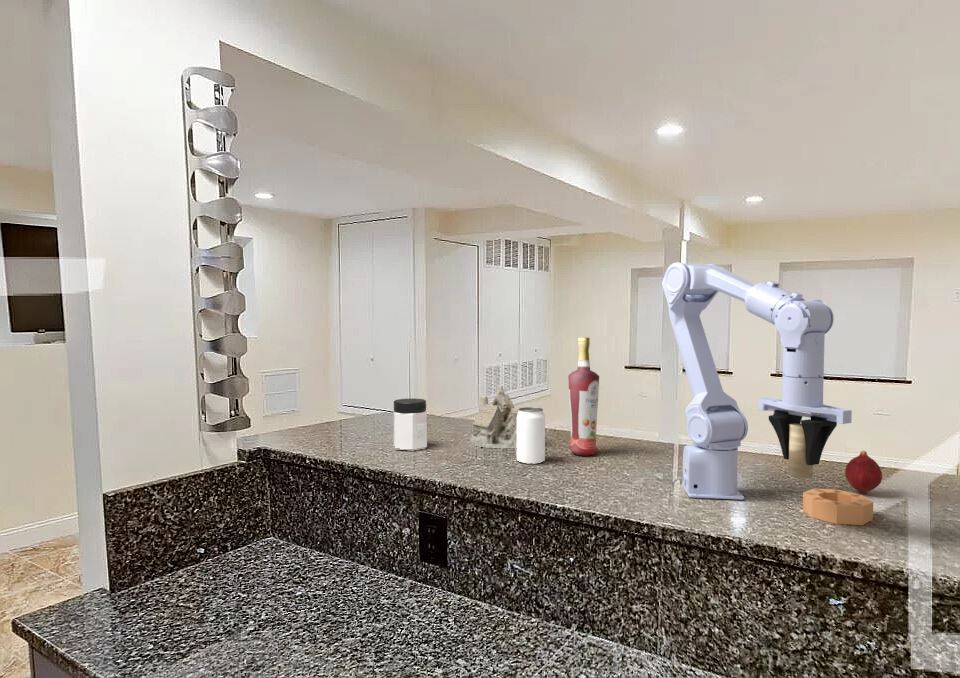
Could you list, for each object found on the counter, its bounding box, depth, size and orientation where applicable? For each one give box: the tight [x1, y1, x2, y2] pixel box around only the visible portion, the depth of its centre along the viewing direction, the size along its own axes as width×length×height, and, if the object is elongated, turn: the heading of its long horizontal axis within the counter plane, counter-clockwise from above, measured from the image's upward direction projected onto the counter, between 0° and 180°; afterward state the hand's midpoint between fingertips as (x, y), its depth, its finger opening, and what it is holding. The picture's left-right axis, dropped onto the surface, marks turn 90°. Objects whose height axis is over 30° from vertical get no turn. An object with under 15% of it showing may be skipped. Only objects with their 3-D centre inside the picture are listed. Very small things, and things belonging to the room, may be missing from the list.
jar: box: [393, 398, 428, 449], centre depth 148 cm, size 9×8×12 cm
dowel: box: [788, 423, 814, 479], centre depth 93 cm, size 3×3×8 cm
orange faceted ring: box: [802, 488, 874, 526], centre depth 98 cm, size 9×9×3 cm
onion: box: [844, 450, 883, 495], centre depth 109 cm, size 6×6×8 cm
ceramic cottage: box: [468, 385, 519, 448], centre depth 152 cm, size 16×16×15 cm
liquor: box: [567, 337, 600, 457], centre depth 141 cm, size 7×7×28 cm
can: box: [516, 406, 546, 464], centre depth 134 cm, size 6×6×12 cm
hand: (800, 461), depth 93 cm, fingers closed on dowel, 3 cm apart
